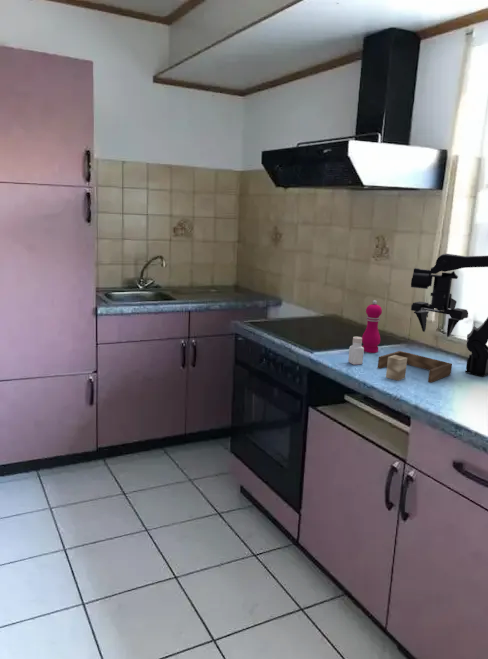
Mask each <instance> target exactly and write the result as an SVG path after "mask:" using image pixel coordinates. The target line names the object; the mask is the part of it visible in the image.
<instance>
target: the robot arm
mask: <svg viewBox="0 0 488 659" xmlns="http://www.w3.org/2000/svg"><path fill="white" fill-rule="evenodd" d="M464 268H466V269H467V268H488V255H472V256H471V255H469V256H465V255H458V254H452V253H443V254H440V255H439V256H438V257H437V259H436V261H435V265H434V266H433V267H430V269H423V268H422V269H421V268H417V267H414V268H413V273H412V277H411V281H410V282H411V283H410V288H412V289H413V288H414V289H424V290H425V289H426V290H428V289H429V287H432V285H433V287H432V292H430V297H431V302H430V304H429V302H424V301H414V302H412V304H411V306H410V311H413V314H415V315H416V317H417V319H418V322H419V324H420V327H421V330H422V332H424V333H425V332H426V329H427V320H428V315H429V312H433V313H438V314H444V315H449V316H450V317H449V318H448V320H447V328H446V336H447V338H449V337H450V336H451V335H452V333H453V331H454V329H455V327H456V325H457V324H458V323H459V322H460V321H463V320H464V319H467V318H468V317H469V311H468V309H465V308H458V307H456V304H457V300H455V299H454V298H452V297H453V295H452V293H451V287H452V280H453V279H454V280H457V279H458V278H459V276H458V275H457V274H456V273H455V271H456V270H461V269H464ZM451 271H452V272H451ZM440 272H441V274H438V273H440ZM433 278H434V279H433ZM487 343H488V317H486V319H485V320H484V322H483V323H482V324H481V325H480V326H478V327H476V326H473V327H472V329H471V331H470V332H469V333H468V334H467V336H466V348H467V350H468V351H469V352H470V354H469V355H468V358H467V359H466V365H465V366H466V367H465V370H464V373H466V374H470V375H473V376H474V375H475V376H478V377H486V376H488V345H487Z"/></svg>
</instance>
